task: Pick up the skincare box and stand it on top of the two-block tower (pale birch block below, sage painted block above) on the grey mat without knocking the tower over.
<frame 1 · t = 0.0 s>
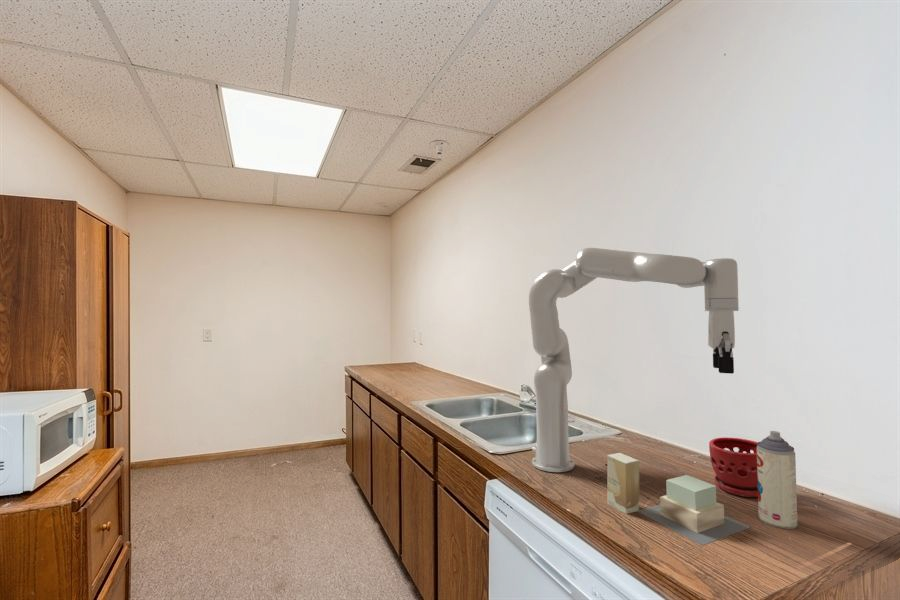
hand: (723, 370, 112), 31 cm above the worktop, tool pointing down, fingers open, 9 cm apart
aerosol can: (777, 523, 94), on the worktop
skincare box: (623, 509, 101), on the worktop
base block: (691, 518, 95), resting on mat, touching top block
top block: (691, 500, 95), point 4 cm above the worktop, touching base block
plant pot: (739, 490, 111), on the worktop
mat: (691, 520, 95), on the worktop
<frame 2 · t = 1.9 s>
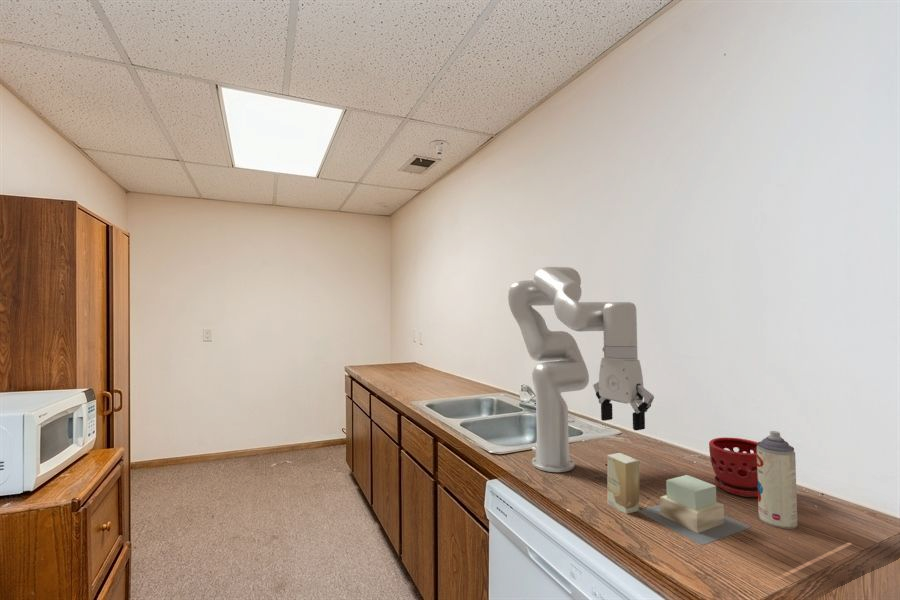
hand: (622, 424, 102), 20 cm above the worktop, tool pointing down, fingers open, 9 cm apart
nothing on the worktop moved.
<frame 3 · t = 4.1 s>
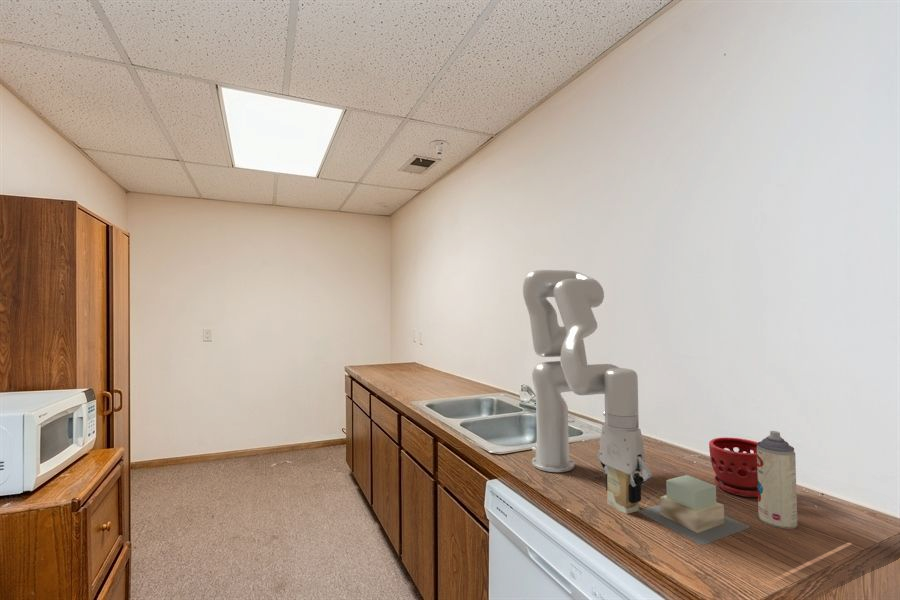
hand: (623, 495, 101), 3 cm above the worktop, tool pointing down, fingers closed on skincare box, 6 cm apart
skincare box: (623, 509, 101), on the worktop, touching gripper, mat
everything else where it was.
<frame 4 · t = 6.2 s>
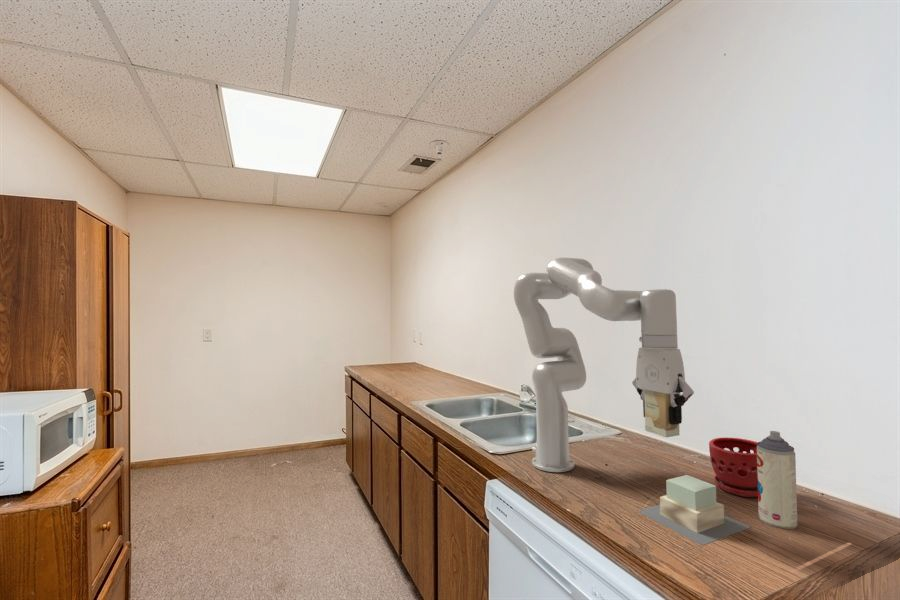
hand: (662, 419, 98), 22 cm above the worktop, tool pointing down, fingers closed on skincare box, 6 cm apart
skincare box: (662, 434, 98), point 19 cm above the worktop, touching gripper
everything else where it was.
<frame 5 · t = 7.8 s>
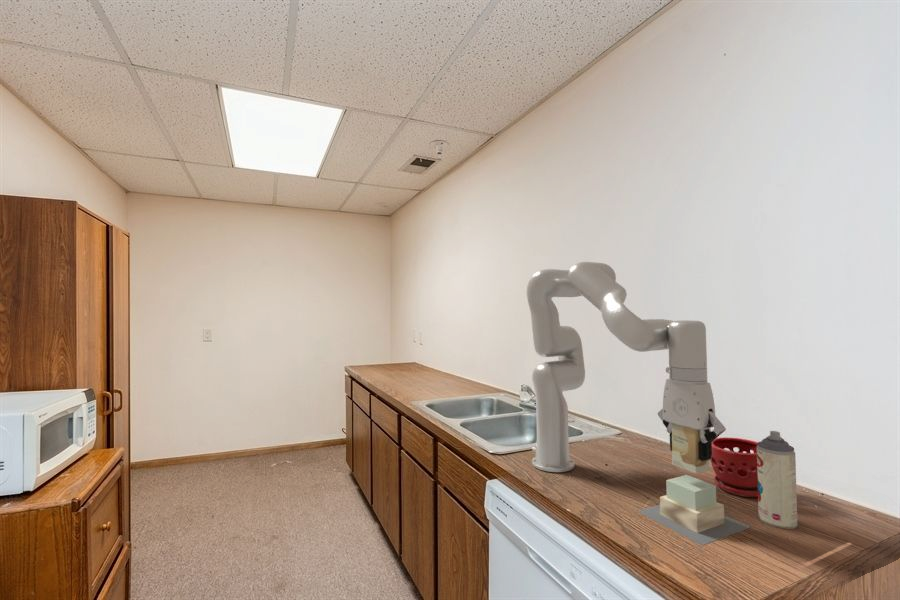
hand: (690, 454, 96), 15 cm above the worktop, tool pointing down, fingers closed on skincare box, 6 cm apart
skincare box: (690, 469, 95), point 12 cm above the worktop, touching gripper
everything else where it was.
when the fingers open (12 cm above the worktop, at t = 8.8 s): skincare box stays where it is, resting on top block.
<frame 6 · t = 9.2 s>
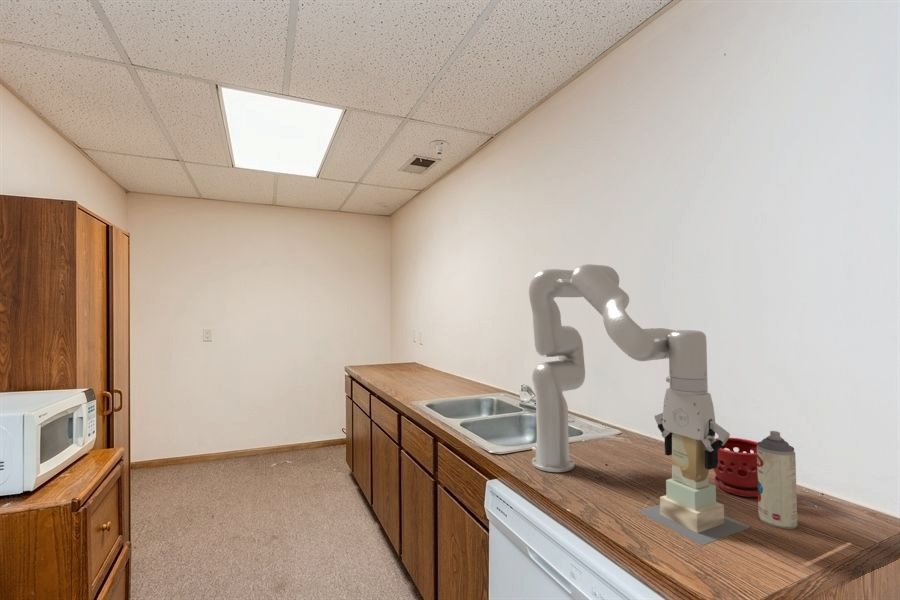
hand: (690, 461, 96), 13 cm above the worktop, tool pointing down, fingers open, 9 cm apart
skincare box: (690, 483, 95), point 8 cm above the worktop, touching top block
top block: (690, 500, 95), point 4 cm above the worktop, touching base block, skincare box
everything else where it was.
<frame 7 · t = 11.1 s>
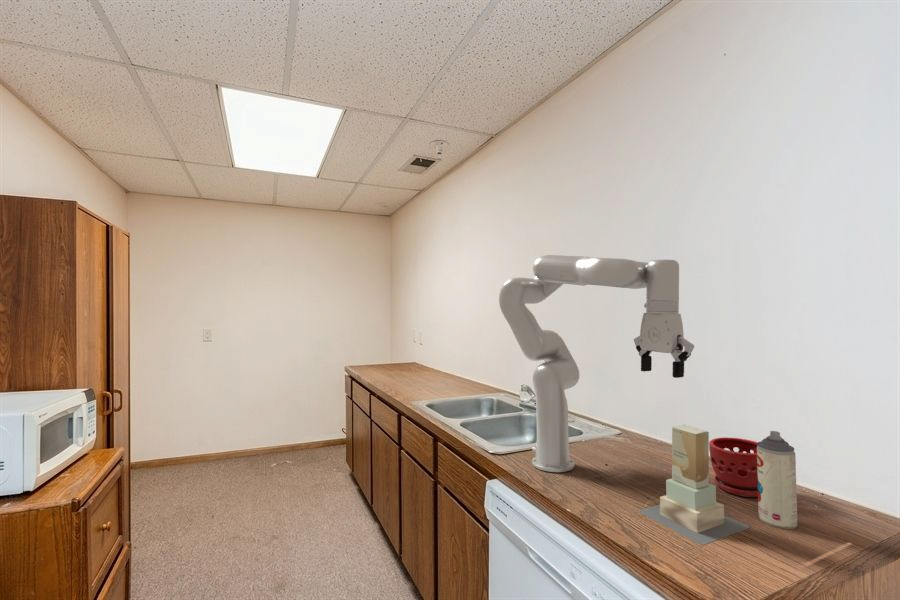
hand: (661, 374, 109), 31 cm above the worktop, tool pointing down, fingers open, 9 cm apart
nothing on the worktop moved.
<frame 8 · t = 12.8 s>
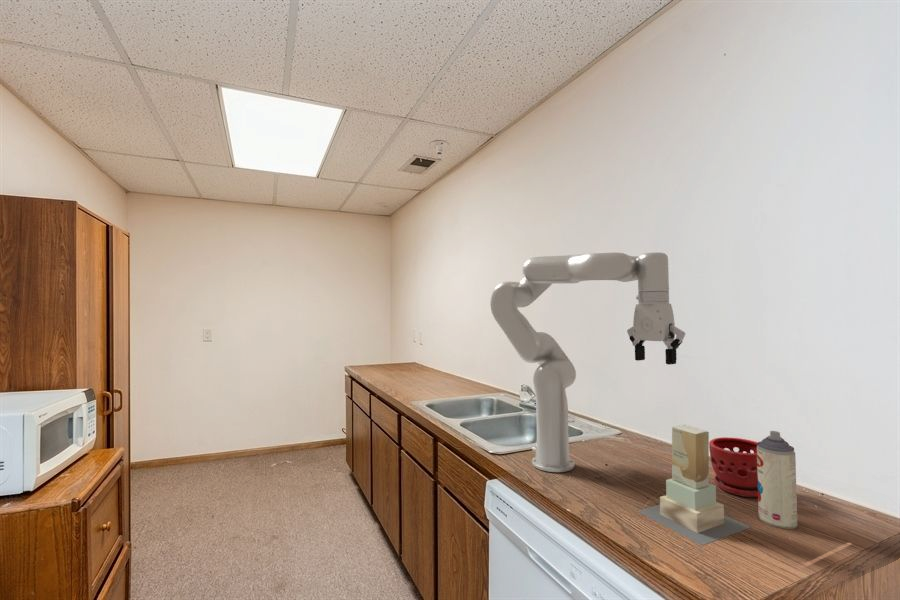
hand: (654, 362, 114), 33 cm above the worktop, tool pointing down, fingers open, 9 cm apart
nothing on the worktop moved.
at the end: skincare box inside the target area on the top block (0.1 cm from its centre), point 3.8 cm above the top block's base; skincare box tilted 0°; top block 0.0 cm off-centre on the base block, point 4.0 cm above the base block's base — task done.
